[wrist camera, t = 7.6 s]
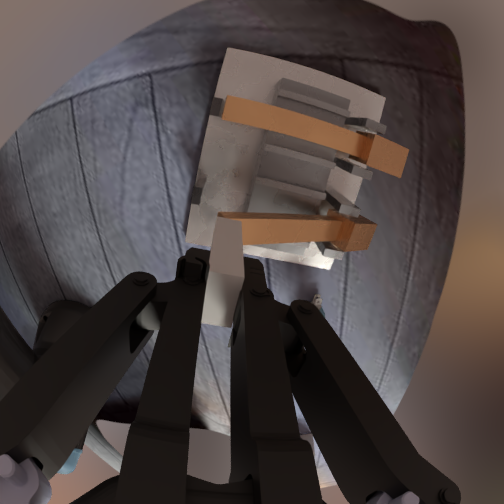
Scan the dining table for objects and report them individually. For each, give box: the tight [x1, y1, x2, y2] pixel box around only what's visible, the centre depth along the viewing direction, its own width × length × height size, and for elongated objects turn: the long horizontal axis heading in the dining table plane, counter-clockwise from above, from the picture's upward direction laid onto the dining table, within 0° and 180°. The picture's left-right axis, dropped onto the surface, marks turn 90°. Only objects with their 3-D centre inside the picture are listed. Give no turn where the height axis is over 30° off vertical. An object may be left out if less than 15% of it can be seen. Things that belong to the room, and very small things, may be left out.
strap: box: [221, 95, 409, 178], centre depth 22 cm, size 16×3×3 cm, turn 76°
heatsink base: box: [185, 48, 387, 270], centre depth 26 cm, size 17×21×7 cm
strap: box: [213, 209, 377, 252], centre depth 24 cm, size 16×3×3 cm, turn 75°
